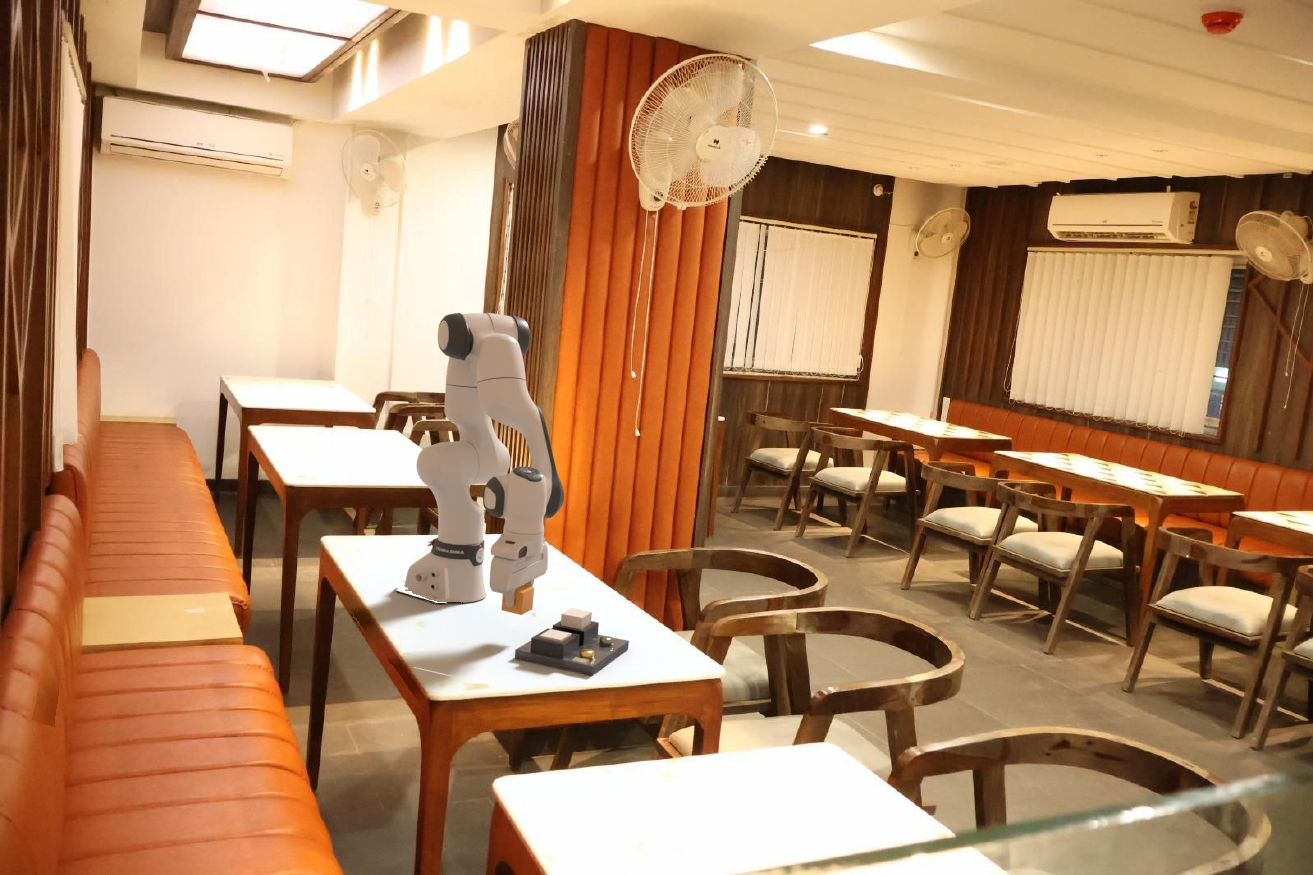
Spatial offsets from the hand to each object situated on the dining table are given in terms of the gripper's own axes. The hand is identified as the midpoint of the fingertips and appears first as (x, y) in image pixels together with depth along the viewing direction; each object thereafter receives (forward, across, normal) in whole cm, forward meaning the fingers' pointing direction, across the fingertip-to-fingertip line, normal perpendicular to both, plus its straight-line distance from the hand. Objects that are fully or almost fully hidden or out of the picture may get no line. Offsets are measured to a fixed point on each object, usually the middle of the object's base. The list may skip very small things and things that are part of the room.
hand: (517, 602), depth 235 cm
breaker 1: (+6, +6, +13) cm, 15 cm away
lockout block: (+2, 0, 0) cm, 2 cm away
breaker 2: (+4, -4, +13) cm, 14 cm away
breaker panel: (+8, +1, +15) cm, 17 cm away
